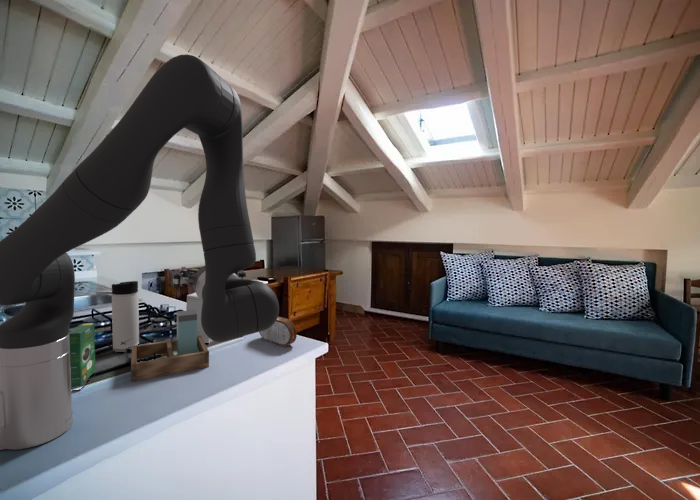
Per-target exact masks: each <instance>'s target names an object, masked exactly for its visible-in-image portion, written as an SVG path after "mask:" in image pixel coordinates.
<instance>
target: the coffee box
mask: <svg viewBox="0 0 700 500" xmlns="http://www.w3.org/2000/svg"><path fill="white" fill-rule="evenodd" d="M95 339H96V338H95V322H87V323H86V322H85V323H80V324H79V325H77V326H76V327H74V328H73V329H71V330H69V341H70V369H71V387H76V386H82V385H83V383H84V382H85V381H86V380H87V379H88V378H89V377H90V376H91V375H92V374H93V373H94V372H95V373H96V346H95V345H96V344H95V343H96V341H95Z"/></svg>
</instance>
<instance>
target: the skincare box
mask: <svg viewBox="0 0 700 500" xmlns="http://www.w3.org/2000/svg"><path fill="white" fill-rule="evenodd" d="M188 310H195V312H196V313H197V336H201V337H202V339H203V341H204V343H209V344H211V343H212V342H214V341H213V340H211V339H210V338H209V337H208V336H207V335H206V334H205V332H204V330H203V328H202V324H201V311H202V302H201V300H200V299H199V297H198V296H197V294H196V292H193V293H190V294H187V295H186V310H185V311H188ZM210 342H211V343H210Z"/></svg>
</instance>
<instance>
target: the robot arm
mask: <svg viewBox="0 0 700 500" xmlns="http://www.w3.org/2000/svg"><path fill="white" fill-rule="evenodd" d="M241 104H242V103H241V100H240V97H239V95H238V93H237V91H236V90H235V89H234V88H233V86H232V85H231V84H229V82H228V81H226V80H225V79H224V78H223V77H222V76H221V75H219V74H218V73H217V72H216V71H215V70H214V69H213V68H212V67H210V66H209V65H208V64H207V63H206V62H204V61H203V60H202V59H200V58H199V57H197V56H195V55H192V54H187V53H186V54H179V55H176V56H174V57H172V58H170V59H168V60H167V61H166V62H164V63H163V64H162V65H161V66H160V67H159V68H158V69H157V71H156V72H155V73H154V74H153V75H152V76H151V77H150V79H149V80H148V82H147V83H146V84H145V86H144V87H143V88H142V90H141V92H140V93H139V94H138V95H137V97H136V98H135V99H134V101H133V103H132V104H131V105H130V107H129V108H128V110H127V111H126V112H125V113H124V114H123V116H122V117H121V119H120V120H119V121H118V123H116V125H114V126H113V128H112V129H111V130H110V131H109V133H108V134H107V135H106V136H105V137H104V138H103V140H102V141H101V142H100V143H99V144H98V145H97V146H96V147H95V148H94V149H93V150H92V152H90V154H88V156H87V157H85V159H83V160H82V161H81V162H80V163H79V164H78V165H77V166H76V167H75V168H74V169H73V170H72V171H71V173H69V175H68V176H67V177H66V178H65V179H64V180H63V181H62V182H61V184H60V185H59V186H58V187H57V189H55V191H54V192H53V193H52V194H50V196H49V197H48V198H46V200H44V202H42V204H41V205H40V206H38V207H37V208H36V209H35V211H34V212H33V213H31V215H30V216H29V217H28V218H26V220H24V221H23V222H22V223H21V224H20V225H19V226H17V227H16V228H15V229H14V230H13V231H12V232H10V233H9V234H7V236H5V237H3V238H2V239H1V240H0V306H11V305H19V304H24V303H25V305H24V306H23V307H22V308H21V310H20V311H19V312H17V313H16V314H14V315H13V316H12V317H10V318H9V319H7V320H6V321H4V322H2V323H1V324H0V451H2V450H12V451H14V450H23V449H29V448H32V447H36V446H40V445H43V444H45V443H47V442H50V441H53V440H54V439H56V438H58V437H59V436H61V435H63V434H64V433H66V432H67V431H68V430H69V429H70V428H71V427H72V424H73V405H72V404H73V401H72V399H73V398H72V391H71V369H70V341H69V332H70V324H72V323H71V322H72V320H73V318H74V313H75V287H76V286H75V285H76V284H75V283H76V280H75V279H76V276H75V269H74V264H73V261H72V258H71V257H70V255H69V253H68V252H70V251H71V250H74V249H76V248H78V247H80V246H83V245H85V244H86V243H89V242H91V241H93V240H95V239H97V238H98V237H100V236H103V235H104V234H107V233H108V232H110V231H112V230H114V229H115V228H117V227H118V226H120V224H122V222H124V221H125V220H127V218H129V216H130V215H131V214H133V212H134V211H135V210H136V209H138V208H139V207H140V205H141V204H142V203H143V202H144V201H145V200H146V198H147V196H148V194H149V191H150V188H151V184H152V176H153V170H154V164H155V160H156V158H157V156H158V155H159V153H160V151H161V150H162V149H163V148H164V147H165V145H167V144H168V142H169V141H170V140H171V139H172V138H173V137H174V136H175V135H177V134H178V133H179V132H180V131H182V130H183V129H186V130H188V131H190V132H192V133H194V134H196V135H198V138H199V141H200V143H201V146H202V147H201V148H202V149H203V150H202V151H203V154H204V157H205V158H204V159H205V166H206V171H205V179H204V184H203V187H202V190H201V194H200V195H201V196H200V198H199V204H198V213H197V216H198V217H197V221H198V228H199V235H200V240H201V246H202V251H203V258H204V266H201V268H199V269H198V268H187V267H186V266H182V267H181V268H178V269H177V270H176V269H171V270H169V273H170V274H169V284H170V285H171V286H172V287H173V288H175V289H178V288H181V287H183V284H186V285H187V286H190V287H193V290H194V293H196V294H197V296H198V297H199V299H200V300H201V302H202V311H201V324H202V328H203V330H204V332H205V334H206V335H207V336H208V337H209V338H210V339H211V340H213V341H212V342H216V343H223V342H227V341H230V340H231V341H232V340H235V339H237V338H241V337H245V336H249V335H252V334H256V333H259V332H260V331H263V330H266V329H268V328H270V327H271V326H272V325H273V324H274V323H275V321H276V320H277V317H278V316H279V314H280V304H279V300H278V297H277V294H276V293H275V292H274V291H273V289H272V288H271V287H270V286H269V285H267V284H266V283H265V282H261V281H259V280H255V279H247V272H245V271H244V270H246V269H248V268H250V267H253V265H255V263H256V260H257V254H256V249H255V243H254V238H253V237H254V236H253V232H252V227H251V226H252V225H251V221H250V216H249V209H248V203H247V197H246V196H247V195H246V188H245V185H246V184H245V173H244V172H245V171H244V170H245V169H244V147H243V140H244V139H243V132H244V131H243V112H242V111H243V110H242V105H241Z"/></svg>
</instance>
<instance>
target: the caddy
mask: <svg viewBox="0 0 700 500" xmlns="http://www.w3.org/2000/svg"><path fill="white" fill-rule="evenodd" d="M154 353H155V354H158V355H161V356H167V358H161V359H155V360H154V359H152V360H149V361H140V362H137V360H139V359H144V358H148V357H150V356H152V355H153V354H154ZM130 357H131V358H130V359H131V361H130V362H131V363H130V369H131V370H130V376H131V377H130V378H131V381H130V382H137V381H141V380H147V379H152V378H156V377H162V376H167V375H172V374H177V373H183V372H188V371H193V370H199V369H203V368H208V367H210V351H209V349H208V347H207V344H205V343H204V341H203V339H202V337H201V336H197V353H191V354H185V355H179V356H177V339H172V340H171V339H170V340H164V341H157V342H150V343H142V344H139V345H135V346H132V351H131V356H130Z"/></svg>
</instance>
